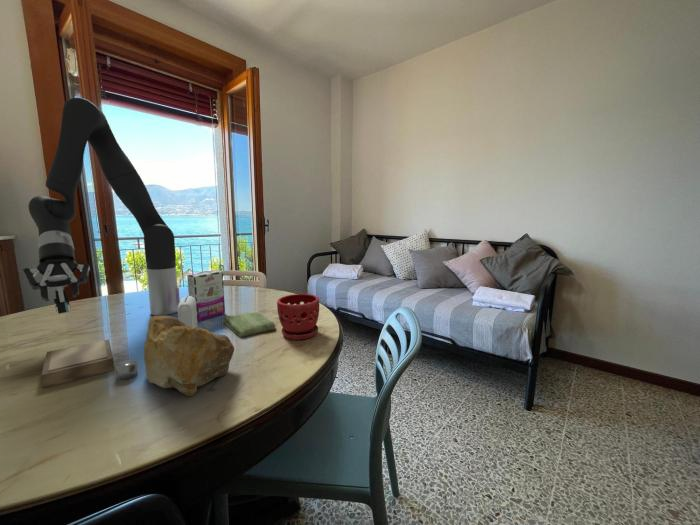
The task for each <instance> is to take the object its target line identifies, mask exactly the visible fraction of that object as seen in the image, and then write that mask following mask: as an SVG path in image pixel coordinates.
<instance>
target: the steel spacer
mask: <svg viewBox="0 0 700 525" xmlns="http://www.w3.org/2000/svg"><path fill="white" fill-rule="evenodd" d="M137 361H138V360H135V359H128V360H123V361H120V362H118V363H116V364H114V370H115V378H116V380H117V381H127V380H130V379H133V378H135V377H137V375H138V374H139V373H138V372H139V371H138V364H137V363H138V362H137Z"/></svg>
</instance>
